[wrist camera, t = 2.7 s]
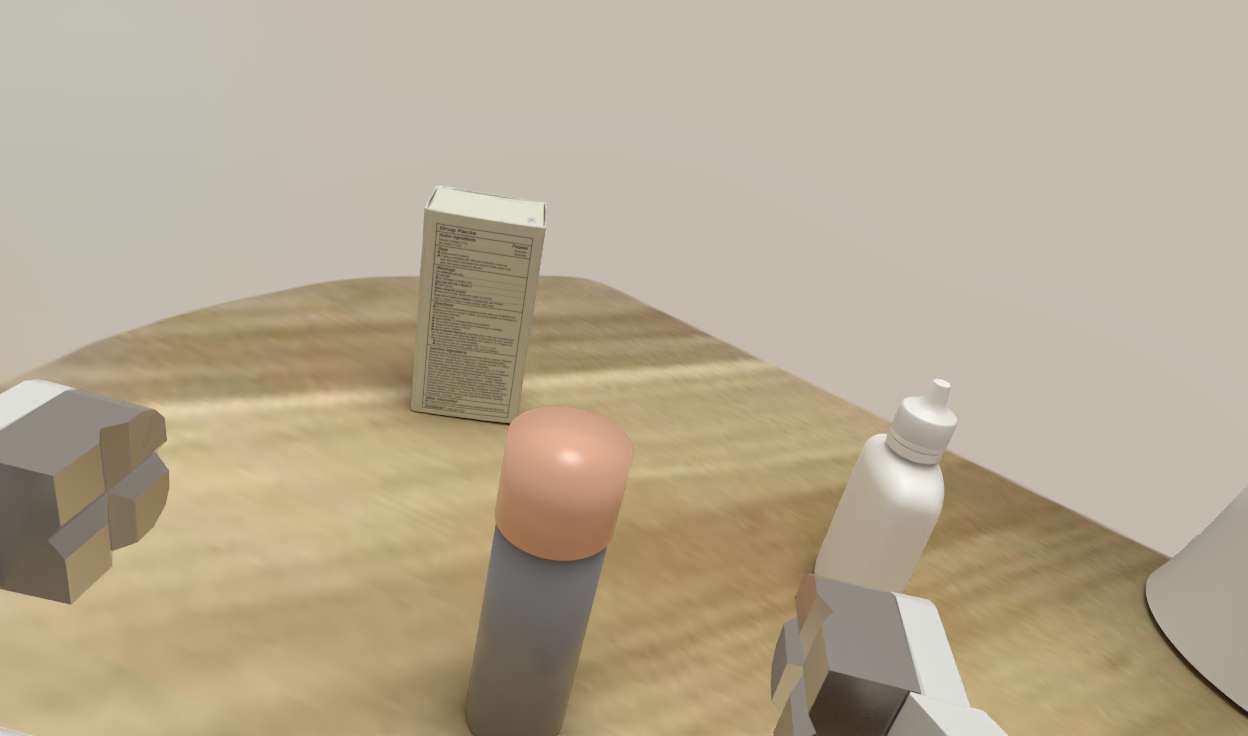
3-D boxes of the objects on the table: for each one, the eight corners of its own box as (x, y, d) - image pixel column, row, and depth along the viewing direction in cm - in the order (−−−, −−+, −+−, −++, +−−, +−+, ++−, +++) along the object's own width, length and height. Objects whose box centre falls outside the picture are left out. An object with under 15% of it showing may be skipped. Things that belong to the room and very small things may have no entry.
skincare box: (520, 390, 49) (552, 202, 44) (516, 428, 46) (550, 228, 40) (417, 375, 49) (437, 181, 43) (404, 413, 45) (424, 205, 39)
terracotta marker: (574, 682, 31) (639, 423, 25) (555, 769, 27) (626, 492, 22) (479, 658, 31) (524, 395, 25) (448, 742, 27) (492, 459, 22)
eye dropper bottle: (905, 588, 40) (1005, 384, 35) (873, 652, 36) (982, 429, 30) (825, 545, 42) (908, 344, 36) (785, 601, 37) (873, 381, 32)
